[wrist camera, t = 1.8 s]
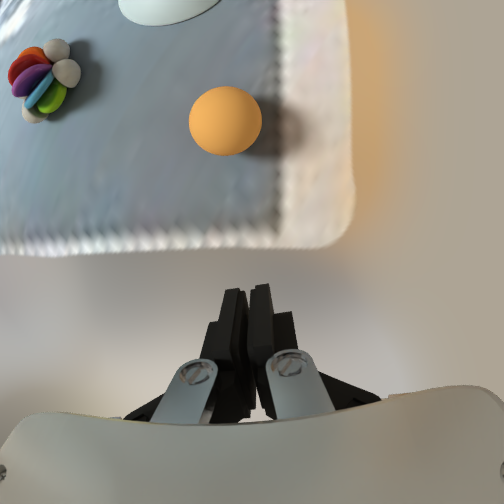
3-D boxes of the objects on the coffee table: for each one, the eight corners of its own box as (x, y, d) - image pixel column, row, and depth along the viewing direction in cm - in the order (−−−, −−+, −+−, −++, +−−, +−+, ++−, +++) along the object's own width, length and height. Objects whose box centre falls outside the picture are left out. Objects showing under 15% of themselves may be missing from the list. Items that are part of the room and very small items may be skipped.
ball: (192, 101, 24) (174, 89, 18) (255, 88, 23) (254, 72, 18) (203, 160, 26) (188, 164, 20) (266, 149, 25) (268, 148, 20)
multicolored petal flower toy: (68, 34, 20) (32, 19, 13) (93, 84, 23) (53, 74, 16) (24, 81, 22) (-14, 77, 15) (45, 133, 25) (4, 135, 18)
